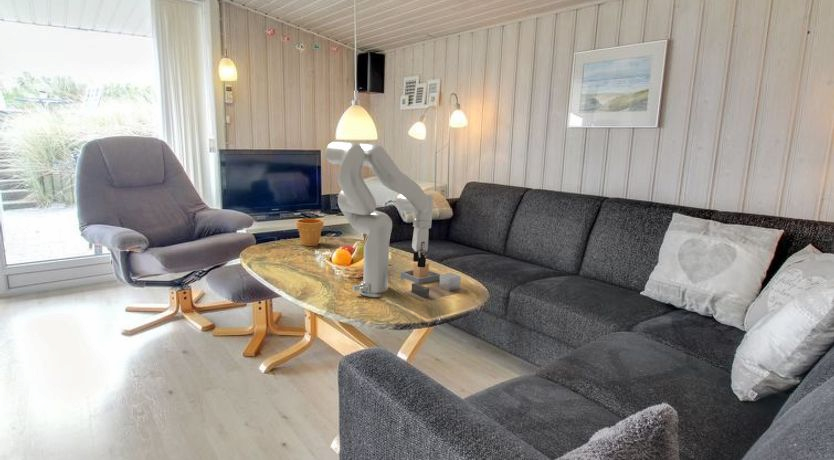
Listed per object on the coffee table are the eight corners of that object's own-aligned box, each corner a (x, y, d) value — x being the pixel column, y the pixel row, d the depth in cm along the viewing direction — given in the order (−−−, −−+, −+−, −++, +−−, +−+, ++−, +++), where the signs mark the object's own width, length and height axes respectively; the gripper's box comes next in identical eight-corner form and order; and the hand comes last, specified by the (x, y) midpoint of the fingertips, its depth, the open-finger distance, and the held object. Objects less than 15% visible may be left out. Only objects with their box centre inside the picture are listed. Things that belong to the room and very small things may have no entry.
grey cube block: (448, 291, 187) (449, 278, 186) (439, 287, 191) (439, 274, 190) (460, 288, 191) (460, 276, 190) (450, 284, 195) (451, 272, 194)
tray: (418, 287, 195) (418, 279, 195) (400, 279, 204) (400, 271, 204) (440, 282, 203) (441, 274, 202) (422, 275, 212) (422, 267, 211)
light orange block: (419, 281, 200) (419, 265, 199) (413, 279, 203) (413, 263, 202) (428, 279, 204) (428, 263, 202) (422, 277, 207) (422, 261, 205)
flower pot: (292, 246, 256) (291, 222, 254) (302, 240, 270) (302, 217, 268) (317, 248, 254) (317, 223, 252) (327, 242, 268) (327, 219, 265)
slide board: (421, 305, 175) (422, 292, 174) (401, 296, 184) (402, 283, 183) (467, 294, 189) (468, 282, 188) (446, 286, 198) (447, 274, 197)
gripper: (409, 220, 206) (406, 259, 209) (417, 226, 189) (413, 269, 192) (426, 220, 208) (423, 259, 210) (435, 227, 191) (432, 269, 194)
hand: (419, 264), depth 201 cm, fingers open, 9 cm apart
